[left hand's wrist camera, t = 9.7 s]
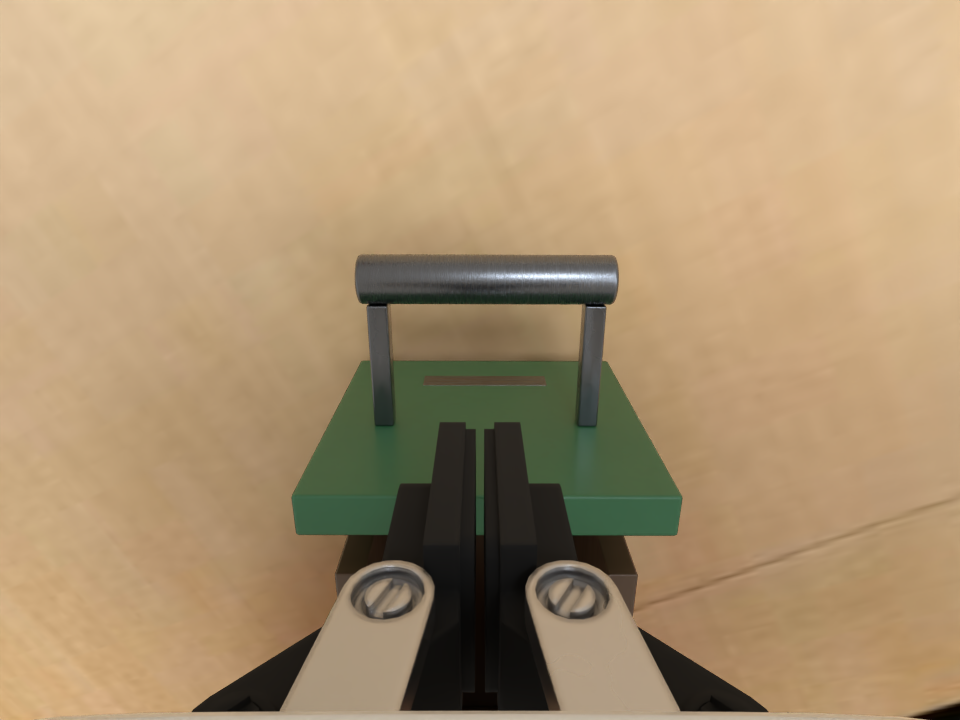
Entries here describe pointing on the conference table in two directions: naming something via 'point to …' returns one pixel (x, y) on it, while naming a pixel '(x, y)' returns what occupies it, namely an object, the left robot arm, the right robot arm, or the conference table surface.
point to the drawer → (488, 421)
